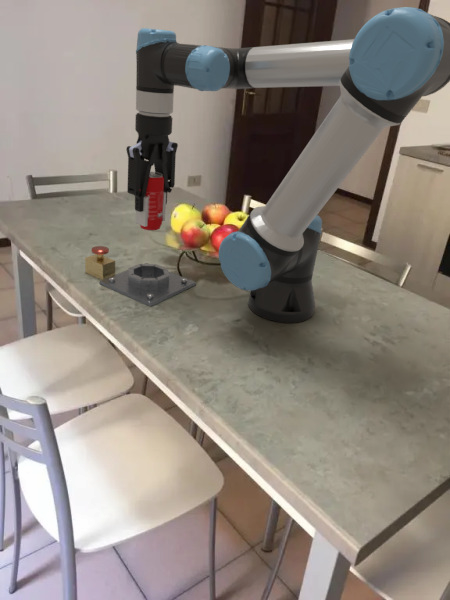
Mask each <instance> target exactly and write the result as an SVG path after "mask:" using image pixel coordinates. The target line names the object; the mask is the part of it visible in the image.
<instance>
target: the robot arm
mask: <svg viewBox="0 0 450 600" xmlns="http://www.w3.org/2000/svg"><path fill="white" fill-rule="evenodd" d="M136 41H137V42H136V50H135V55H136V57H135V58H136V79H135V81H136V82H135V83H136V84H135V87H136V88H135V92H136V94H135V110H136V111H138V112H136V114H135V128H134V129H135V131H136V133H137V135H138V137H137V140H136V144H134V145H133V146H129V145H128V146H126V153H127V158H128V159H127V160H128V161H127V164H128V165H127V193H128V194H129V195H133V196H134V211H135V224H136V225H138V226H140V225H141V226H144V227H146V226H147V222H148V197H146V196H145V195H146V190H147V185H148V180H149V176H150V172H152V171H151V169H152V166H153V167H154V172H157V173H161V174H163V178H164V191H163V214H162V222H166V209H167V207H166V206H167V202H168V193H169V194H171V193H172V190H173V189H174V187H175V182H176V181H175V180H176V179H175V178H176V156H177V155H176V154H177V151H178V146H179V145H178V142H174V141H170V138H169V136H170V135H172V133H173V117H172V115H171V114H173V113H174V95H175V93H174V92H175V91H174V90H175V86H178V87H183V88H188V89H194V90H197V91H201V92H218V91H220V90H221V89H232V90H233V89H235V90H246V89H254V88H255V89H257V88H259V89H261V88H265V89H266V88H301V87H302V88H303V87H304V88H305V87H307V88H309V87H339V88H340V89H339V90H340V96H339V98H338V99H337V101H336V102H335V104H334V105H333V106H332V108H331V109H330V111H329V113H328V114H327V115H326V117H325V118H324V120H323V121H322V123H321V124H320V126H318V128H317V129H316V131H315V133H314V134H313V135H312V137H311V138H310V139H309V141H308V143H307V144H306V146H305V147H304V149H303V150H302V151H301V153H300V154H299V156H298V158H297V159H296V160H295V162H294V163H293V165H292V166H291V168H290V169H289V171H287V174H286V175H285V177H284V178H283V179H282V181H281V182H280V184H279V185H278V187H277V188H276V189H275V191H274V192H273V194H272V195H271V197H270V198H269V200H268V201H267V203H266V204H265V205H263V206H257V207H255V208H253V210H252V211H251V212H250V213H249V215H248V216H247V218H246V219H245V221H244V222H243V223H242V225H241V227H240V228H239V229H238V230H237V231H233V232H231V233H229V234H228V235H227V236H225V237H224V238H223V239H222V240H221V243H220V244H219V248H218V261H219V263H220V269H221V271H222V272H223V274H224V276H225V277H226V278H227V280H228V281H229V283H231V284H232V285H233V286H235V287H236V288H239V289H240V290H243V291H250V292H249V294H248V295H249V296H248V302H247V303H248V307H249V309H250V310H251V311H252V312H253V313H255V314H256V315H257V316H259V317H262V318H264V319H267V320H269V321H273V322H279V323H285V324H287V323H289V324H293V323H294V324H295V323H302V322H305V321H308V320H309V319H311V318H312V317H313V315H314V312H315V306H316V299H315V296H314V289H313V287H314V286H313V275H314V270H315V265H316V260H317V255H318V250H319V249H318V248H319V244H320V239H321V235H322V233H323V231H322V228H323V227H322V226H323V220H322V217H320V216H319V215H318V214H319V213H320V212H321V210H322V209H323V208H324V206H326V203H327V202H329V200H330V199H331V197H332V196H333V195H334V194H335V192H336V191H337V190H338V189H339V187H340V186H341V185H342V183H344V181H345V179H346V178H348V176H349V174H350V173H351V172H352V170H353V169H354V167H356V165H357V164H358V163H359V162H360V161H361V159H362V158H363V156H364V155H365V153H367V151H368V150H369V149H370V147H372V145H373V144H374V143H375V141H376V140H377V138H378V137H379V135H380V134H382V132H383V131H384V129H385V128H389V127H393V126H399V125H401V124H402V123H403V122H404V120H405V119H406V118H407V116H408V115H409V114H410V113H411V111H412V110H413V108H415V106H416V105H417V104H418V102H419V101H420V100H421V99H422V98H423V97H427V96H430V95H433V94H435V93H437V92H438V91H441V90H442V89H443V88H444V87H446V86H447V85H448V84H449V83H450V22H449V21H447V19H446V20H445V19H444V18H442V17H439V16H436V15H433V14H430V13H428V12H426V11H424V10H423V9H421V8H417V7H409V6H406V7H405V6H404V7H394V8H390V9H389V8H388V9H385V10H383V11H381V12H378V13H377V14H376V15H374V16H373V17H372V18H370V19H369V20H368V21H366V23H365V24H364V25H363V26H362V27H361V28H360V29H359V31H358V32H357V34H356V36H355V37H354V38H353V39H351V38H350V39H341V40H329V41H328V40H327V41H315V42H304V43H290V44H279V45H277V44H276V45H266V46H264V45H263V46H255V47H254V46H253V47H239V48H236V47H235V48H230V47H223V46H222V47H220V46H219V47H218V46H212V45H203V44H202V45H201V44H199V45H198V44H190V43H189V44H188V43H179V42H177V34H176V33H175V31H172V30H165V29H156V28H148V27H143V28H140V29H139V30H138V33H137V40H136ZM140 190H141V191H140Z"/></svg>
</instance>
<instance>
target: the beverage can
mask: <svg viewBox="0 0 450 600" xmlns="http://www.w3.org/2000/svg"><path fill="white" fill-rule="evenodd" d="M140 191H141V190H140ZM163 191H164V178H163V174H161V173H157V172H155V171H150V176H149V180H148V185H147V190H146V195H145V196H146V197H148V222H147V226H146V227H144V226H141V225H139V226H140V228H141V230H144V231H151V232H153V231H159V230H160V229H161V226H162V224H163V221H162V214H163Z"/></svg>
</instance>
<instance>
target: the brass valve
mask: <svg viewBox="0 0 450 600" xmlns="http://www.w3.org/2000/svg"><path fill="white" fill-rule="evenodd" d="M109 250H110V249H109V248H108V247H107V246H102V245H97V246H92V247H91V253H92V254H93V255H90V256H86V257H85V258H84V260H85V261H84V264H85V274H88V275H90V276H91V277H94V278H97V279H99V280H103V279H106V278H108V277H111V276H113V275H116V260H114V259H112V258H109V257H107V256H105V255H108V253H109V252H110V251H109Z"/></svg>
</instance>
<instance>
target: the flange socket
mask: <svg viewBox="0 0 450 600" xmlns="http://www.w3.org/2000/svg"><path fill="white" fill-rule="evenodd" d="M99 285H101V286H103V287H105V288H108V289H110V290H113V291H114V292H117V293H119V294H121V295H124V296H126V297H128V298H130V299H133V300H135V301H137V302H139V303H142V304H144V305H146V306H148V307H150V308H151V307H153V306H155V305H158V304H160V303H161V302H164V301H165V300H168V299H170V298H171V297H174V296H176V295H178V294H180V293H183V292H184V291H186V290H188V289H191V288H193V287H195V286H196V281H194V280H192V279H188V278H187V277H183V276H181V275H179V274H176V273H174V272H172V271H169V269H168V268H167V267H163V266H161V265H160V264H156V263H148V262H145V263H138V264H136V265H133V266H130V267H129V268H128V269H127V270H124V271H121V272H119V273H117V274H116V273H115V275H113V276H111V277H108V278H106V279H103V280H101V279H99Z"/></svg>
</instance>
